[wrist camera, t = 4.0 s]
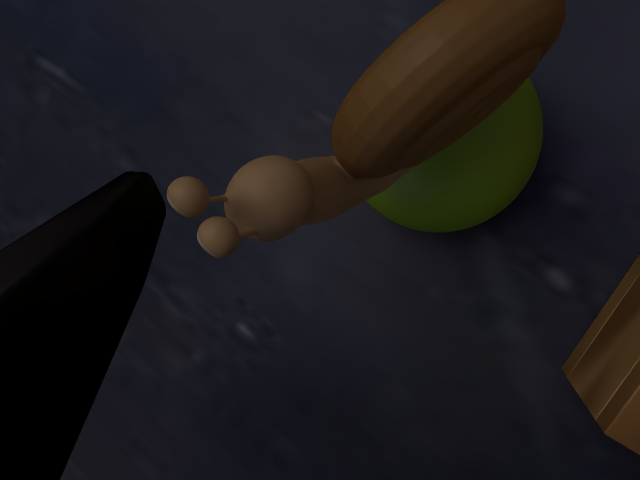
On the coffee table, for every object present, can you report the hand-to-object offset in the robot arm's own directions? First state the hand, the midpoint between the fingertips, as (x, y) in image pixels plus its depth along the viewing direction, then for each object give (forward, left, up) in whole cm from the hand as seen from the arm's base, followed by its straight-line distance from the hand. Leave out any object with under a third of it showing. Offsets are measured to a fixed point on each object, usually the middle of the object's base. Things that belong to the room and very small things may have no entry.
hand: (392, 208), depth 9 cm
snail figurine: (+1, +1, -9) cm, 9 cm away
